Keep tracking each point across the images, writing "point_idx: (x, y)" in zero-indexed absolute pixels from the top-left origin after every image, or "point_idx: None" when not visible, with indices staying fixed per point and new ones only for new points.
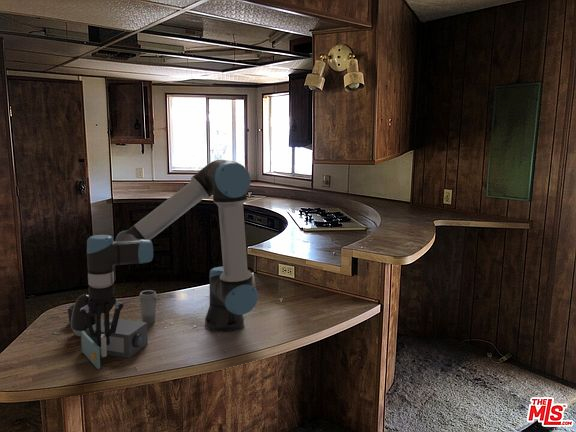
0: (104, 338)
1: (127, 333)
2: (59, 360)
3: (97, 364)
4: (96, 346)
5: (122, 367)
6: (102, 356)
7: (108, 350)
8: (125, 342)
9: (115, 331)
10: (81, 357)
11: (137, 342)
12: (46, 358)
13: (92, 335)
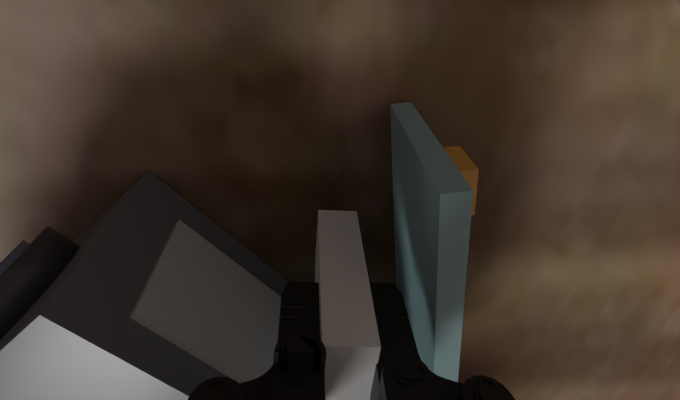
0: (342, 335)
1: (61, 360)
2: (539, 325)
3: (420, 115)
4: (458, 232)
5: (221, 45)
6: (351, 214)
7: (280, 299)
8: (127, 274)
9: (191, 397)
10: None
11: (12, 253)
12: (576, 364)
13: (498, 394)
